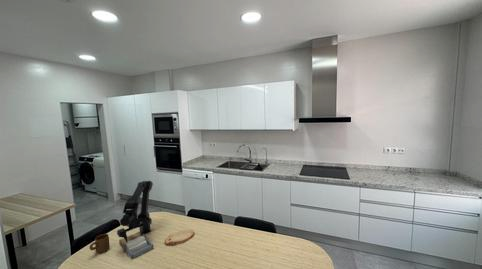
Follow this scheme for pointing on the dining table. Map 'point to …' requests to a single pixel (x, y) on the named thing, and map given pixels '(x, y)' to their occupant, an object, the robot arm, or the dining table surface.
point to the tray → (140, 250)
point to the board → (129, 239)
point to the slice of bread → (179, 237)
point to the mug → (101, 243)
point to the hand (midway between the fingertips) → (134, 239)
